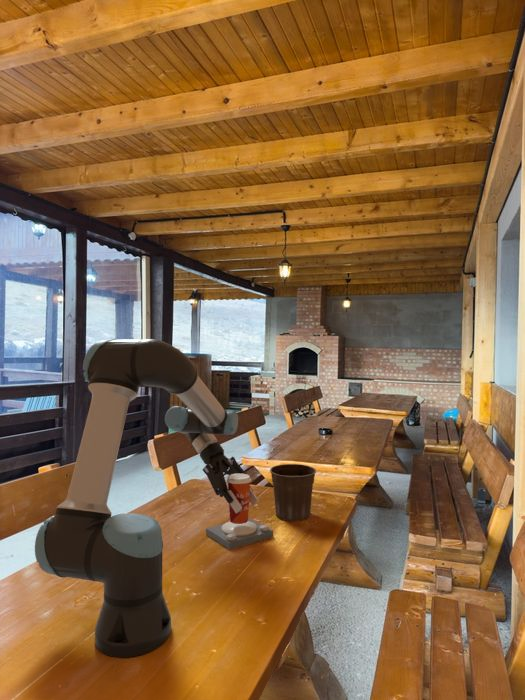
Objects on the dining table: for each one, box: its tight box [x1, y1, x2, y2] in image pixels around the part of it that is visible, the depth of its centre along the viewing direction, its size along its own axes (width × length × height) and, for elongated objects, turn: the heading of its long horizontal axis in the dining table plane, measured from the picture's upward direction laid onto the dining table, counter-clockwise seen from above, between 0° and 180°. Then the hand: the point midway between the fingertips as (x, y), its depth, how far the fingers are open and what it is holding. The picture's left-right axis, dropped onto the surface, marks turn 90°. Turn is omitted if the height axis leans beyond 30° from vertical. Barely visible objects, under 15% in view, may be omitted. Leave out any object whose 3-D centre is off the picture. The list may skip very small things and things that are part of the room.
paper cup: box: [226, 473, 252, 524], centre depth 147 cm, size 8×8×14 cm
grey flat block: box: [205, 517, 274, 551], centre depth 147 cm, size 16×14×3 cm
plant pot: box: [269, 463, 317, 522], centre depth 165 cm, size 16×16×16 cm
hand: (247, 506), depth 145 cm, fingers closed on paper cup, 8 cm apart
